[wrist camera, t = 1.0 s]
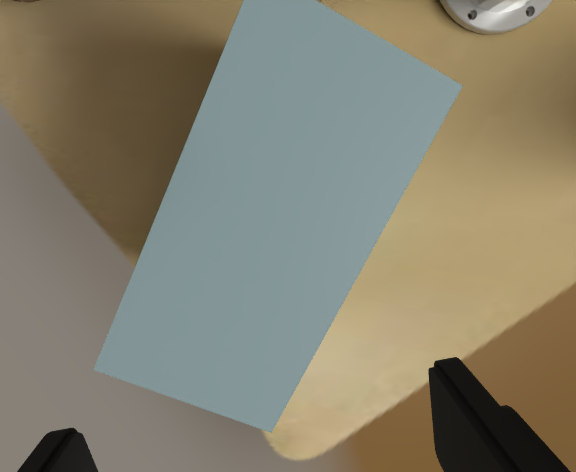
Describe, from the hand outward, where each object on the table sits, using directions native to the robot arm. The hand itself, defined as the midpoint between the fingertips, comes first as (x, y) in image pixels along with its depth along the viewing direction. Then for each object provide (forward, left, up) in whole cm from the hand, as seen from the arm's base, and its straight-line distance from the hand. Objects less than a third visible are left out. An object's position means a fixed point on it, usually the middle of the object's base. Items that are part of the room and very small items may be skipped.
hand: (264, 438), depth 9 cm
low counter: (-2, -1, -29) cm, 29 cm away
